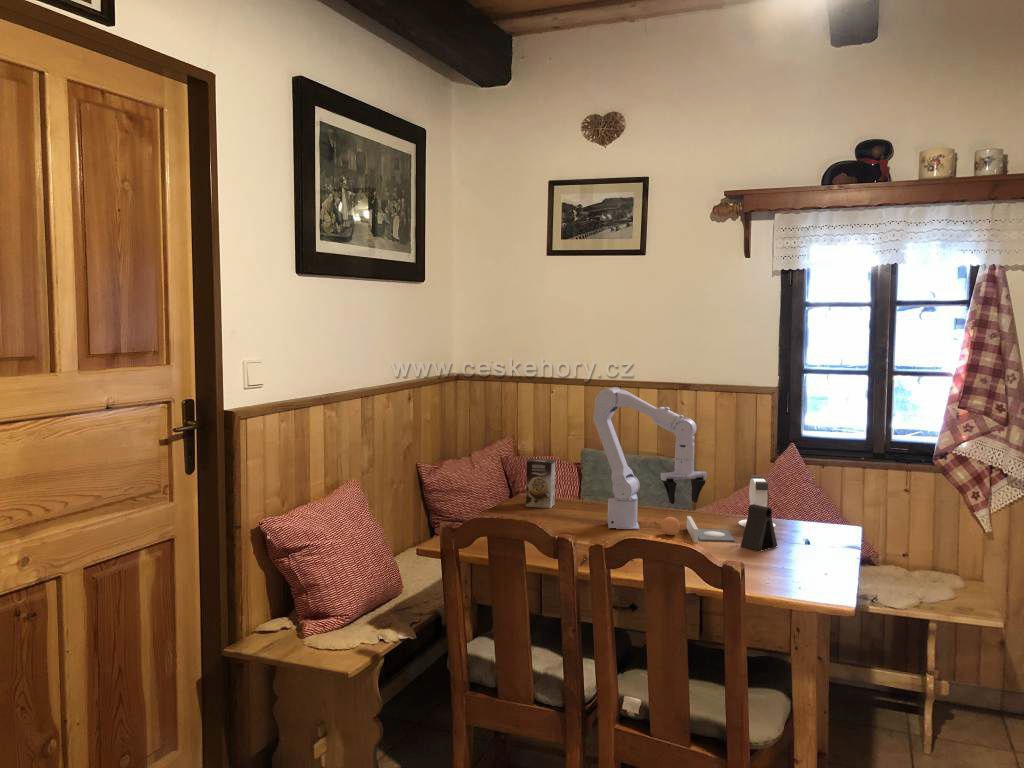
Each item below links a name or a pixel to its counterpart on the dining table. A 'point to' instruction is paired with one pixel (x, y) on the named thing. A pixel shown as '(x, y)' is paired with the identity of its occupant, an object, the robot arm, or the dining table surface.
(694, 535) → the fence
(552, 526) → the dining table surface
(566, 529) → the dining table surface
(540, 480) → the coffee box
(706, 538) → the mat
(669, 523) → the ball
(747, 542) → the phone stand
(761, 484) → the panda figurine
